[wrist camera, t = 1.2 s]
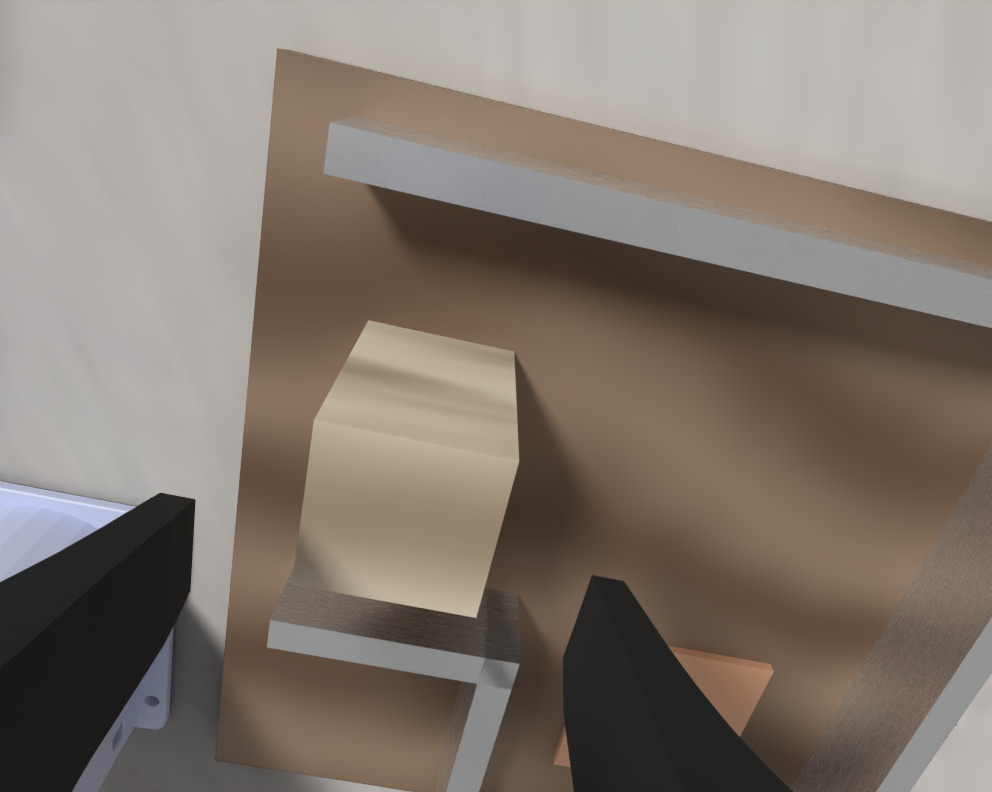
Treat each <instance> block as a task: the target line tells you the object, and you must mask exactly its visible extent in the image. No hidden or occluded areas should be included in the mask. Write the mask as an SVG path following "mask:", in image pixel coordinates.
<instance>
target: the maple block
mask: <svg viewBox="0 0 992 792" xmlns="http://www.w3.org/2000/svg"><path fill="white" fill-rule="evenodd" d="M518 464H519V445H518V423H517V401H516V379H515V357H514V351H509V350H505V349H500V348H495V347H491V346H486V345H481V344H477V343H472V342H467V341H463V340H458V339H453V338H449V337H444V336H439V335H435V334H430V333H425V332H421V331H416V330H411V329H407V328H402V327H397V326H393V325H388V324H383V323H379V322H374V321H369V320H368V322H367V324H366V326H365V328H364V329H363V331H362V333H361V335H360V337H359V339H358V340H357V342H356V344H355V346H354V348H353V350H352V351H351V353H350V355H349V357H348V359H347V360H346V362H345V364H344V366H343V368H342V370H341V371H340V373H339V375H338V377H337V379H336V381H335V382H334V384H333V386H332V388H331V390H330V392H329V393H328V395H327V397H326V399H325V401H324V403H323V404H322V406H321V408H320V410H319V412H318V414H317V415H316V417H315V419H314V424H313V431H312V439H311V446H310V454H309V461H308V469H307V476H306V484H305V491H304V499H303V507H302V514H301V522H300V529H299V537H298V544H297V552H296V559H295V567H294V574H293V582H292V585H297V586H303V587H309V588H314V589H320V590H325V591H331V592H336V593H342V594H347V595H353V596H358V597H364V598H369V599H375V600H380V601H386V602H391V603H397V604H402V605H408V606H413V607H419V608H424V609H430V610H435V611H441V612H447V613H452V614H458V615H463V616H469V617H474V618H476V617H477V613H478V610H479V606H480V602H481V599H482V595H483V591H484V588H485V584H486V580H487V577H488V573H489V570H490V566H491V562H492V559H493V555H494V551H495V548H496V544H497V540H498V537H499V533H500V529H501V526H502V522H503V519H504V515H505V511H506V508H507V504H508V500H509V497H510V493H511V489H512V486H513V482H514V478H515V475H516V471H517V468H518Z"/></svg>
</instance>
